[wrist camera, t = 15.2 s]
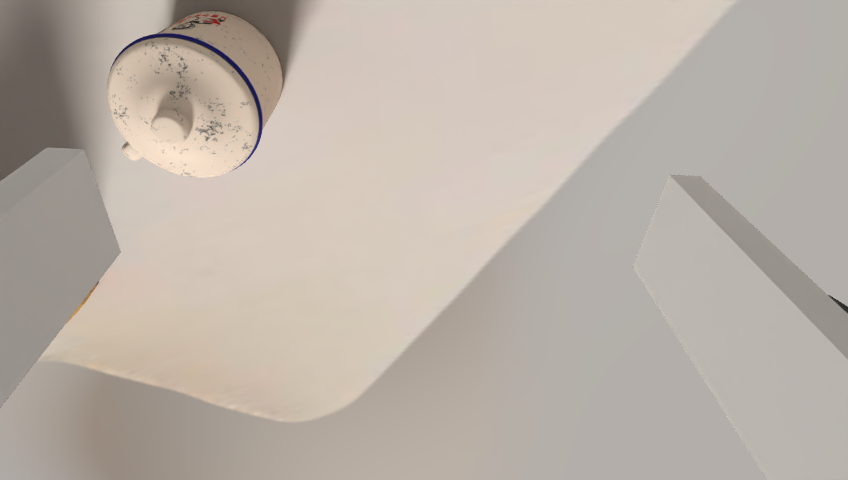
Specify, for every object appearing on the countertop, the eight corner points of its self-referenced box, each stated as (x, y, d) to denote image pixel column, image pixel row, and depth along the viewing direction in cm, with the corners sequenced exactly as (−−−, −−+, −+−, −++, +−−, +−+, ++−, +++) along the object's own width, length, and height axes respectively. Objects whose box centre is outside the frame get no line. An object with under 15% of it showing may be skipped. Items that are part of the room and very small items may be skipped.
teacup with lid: (223, -23, 34) (156, 10, 24) (311, 86, 38) (283, 150, 29) (110, 76, 37) (12, 138, 28) (203, 165, 42) (146, 245, 32)
